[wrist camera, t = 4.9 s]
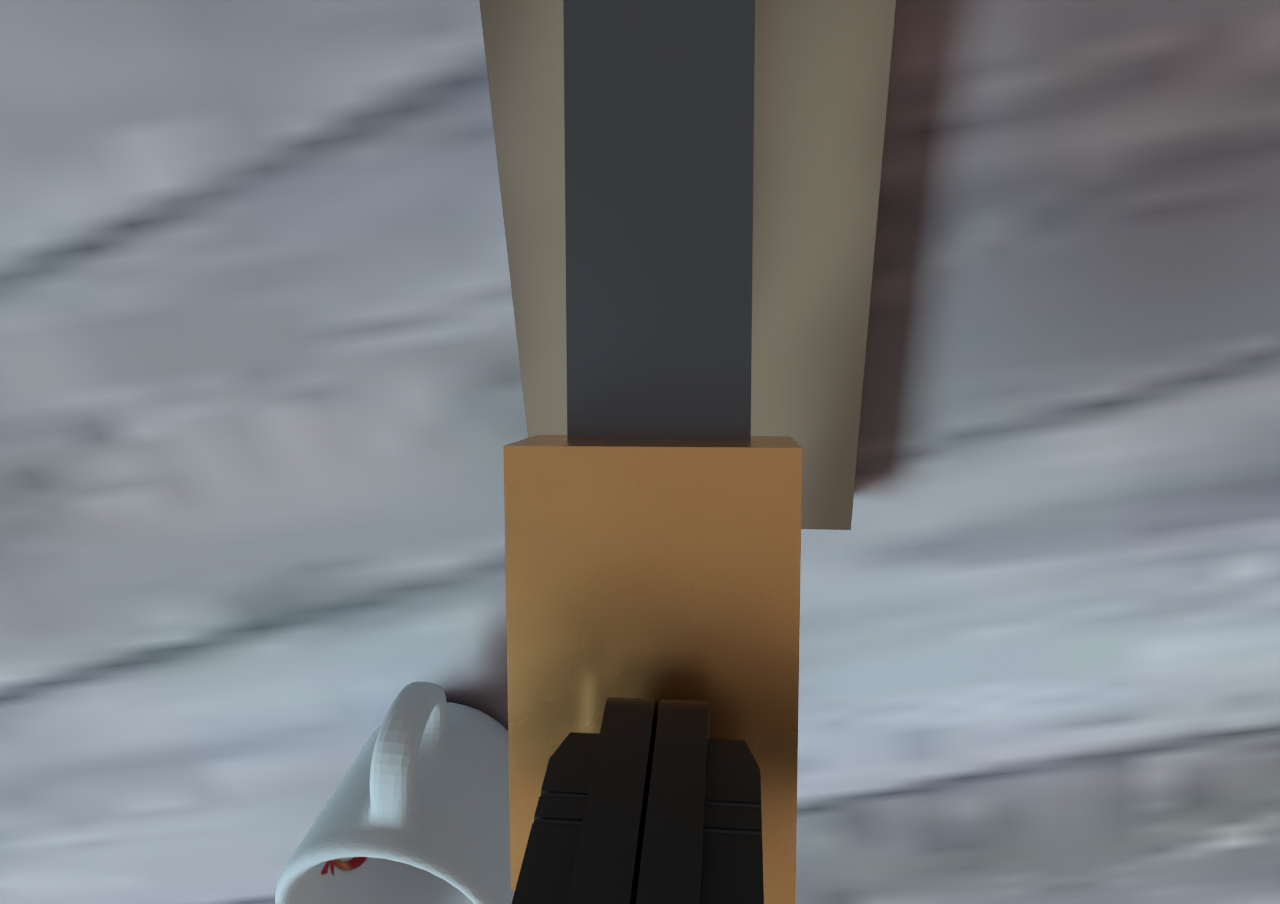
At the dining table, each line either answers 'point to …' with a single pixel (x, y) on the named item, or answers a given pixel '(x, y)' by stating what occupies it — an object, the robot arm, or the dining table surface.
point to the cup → (413, 814)
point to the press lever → (657, 423)
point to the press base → (782, 219)
